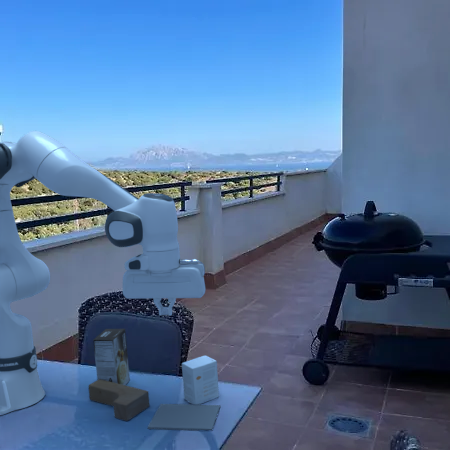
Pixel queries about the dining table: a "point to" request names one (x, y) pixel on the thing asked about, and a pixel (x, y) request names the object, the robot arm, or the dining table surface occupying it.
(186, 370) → the small box
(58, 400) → the dining table surface
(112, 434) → the dining table surface
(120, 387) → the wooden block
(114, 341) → the coffee box
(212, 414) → the mat
